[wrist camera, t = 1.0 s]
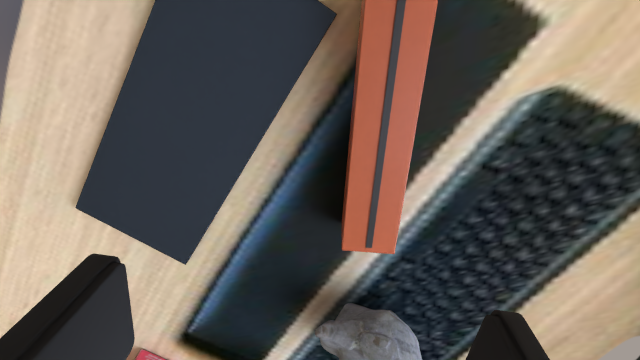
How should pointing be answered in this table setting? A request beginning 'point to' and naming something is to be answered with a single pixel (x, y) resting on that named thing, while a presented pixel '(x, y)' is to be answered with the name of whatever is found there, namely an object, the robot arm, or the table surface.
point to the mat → (196, 113)
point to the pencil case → (384, 119)
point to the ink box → (147, 356)
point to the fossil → (368, 335)
